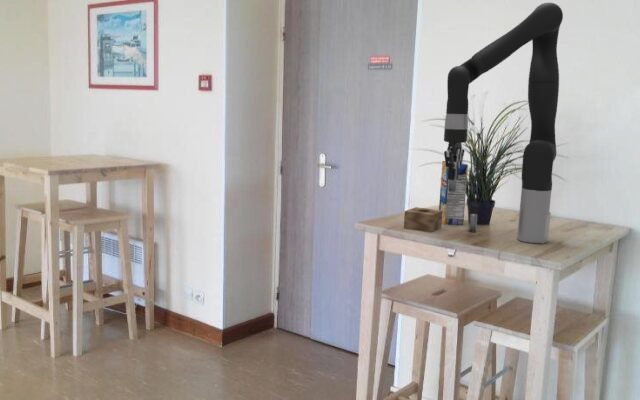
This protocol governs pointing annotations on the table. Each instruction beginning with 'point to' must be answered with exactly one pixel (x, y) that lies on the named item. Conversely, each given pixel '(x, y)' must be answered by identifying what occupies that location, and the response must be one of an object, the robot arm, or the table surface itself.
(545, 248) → the table surface
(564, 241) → the table surface
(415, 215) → the hole block
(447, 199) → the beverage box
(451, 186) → the long pin
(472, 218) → the short pin
